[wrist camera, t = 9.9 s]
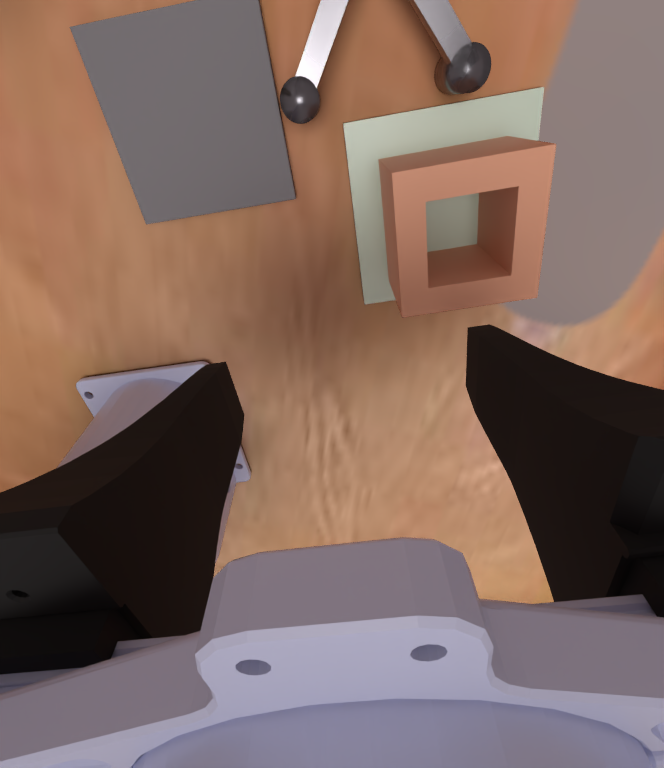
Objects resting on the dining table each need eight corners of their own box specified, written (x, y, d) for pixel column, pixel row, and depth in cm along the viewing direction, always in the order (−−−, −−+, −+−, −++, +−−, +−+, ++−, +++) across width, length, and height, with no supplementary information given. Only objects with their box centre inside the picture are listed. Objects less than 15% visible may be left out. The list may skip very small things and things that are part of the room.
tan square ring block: (498, 263, 20) (537, 297, 17) (388, 280, 21) (402, 317, 17) (507, 135, 17) (556, 143, 14) (378, 159, 18) (391, 173, 14)
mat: (296, 197, 19) (295, 199, 18) (149, 222, 19) (146, 224, 19) (257, -10, 15) (255, -13, 15) (75, 28, 15) (69, 26, 15)
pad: (520, 278, 21) (523, 281, 21) (364, 301, 22) (364, 304, 21) (539, 87, 17) (544, 87, 16) (343, 123, 17) (343, 123, 17)
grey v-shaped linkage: (469, 91, 17) (489, 89, 15) (289, 124, 17) (284, 126, 15) (475, -129, 13) (502, -172, 11) (253, -80, 14) (240, -111, 12)
